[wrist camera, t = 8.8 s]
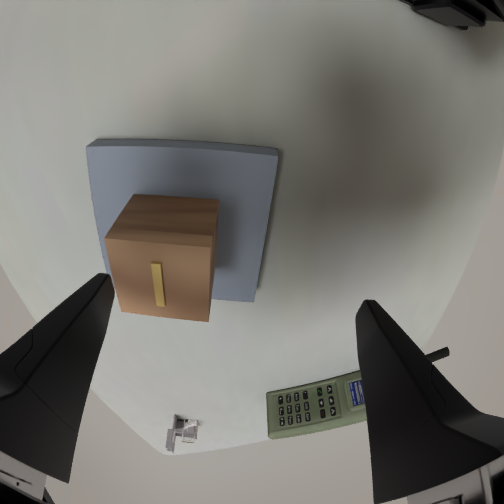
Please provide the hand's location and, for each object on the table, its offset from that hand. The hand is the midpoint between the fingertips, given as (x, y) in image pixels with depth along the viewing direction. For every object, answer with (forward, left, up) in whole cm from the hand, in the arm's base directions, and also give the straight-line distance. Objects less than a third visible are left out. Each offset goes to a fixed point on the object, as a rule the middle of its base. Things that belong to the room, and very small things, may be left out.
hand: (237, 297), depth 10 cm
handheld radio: (+25, +17, -12) cm, 32 cm away
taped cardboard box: (+4, -4, -10) cm, 11 cm away
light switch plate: (+4, -4, -11) cm, 13 cm away
